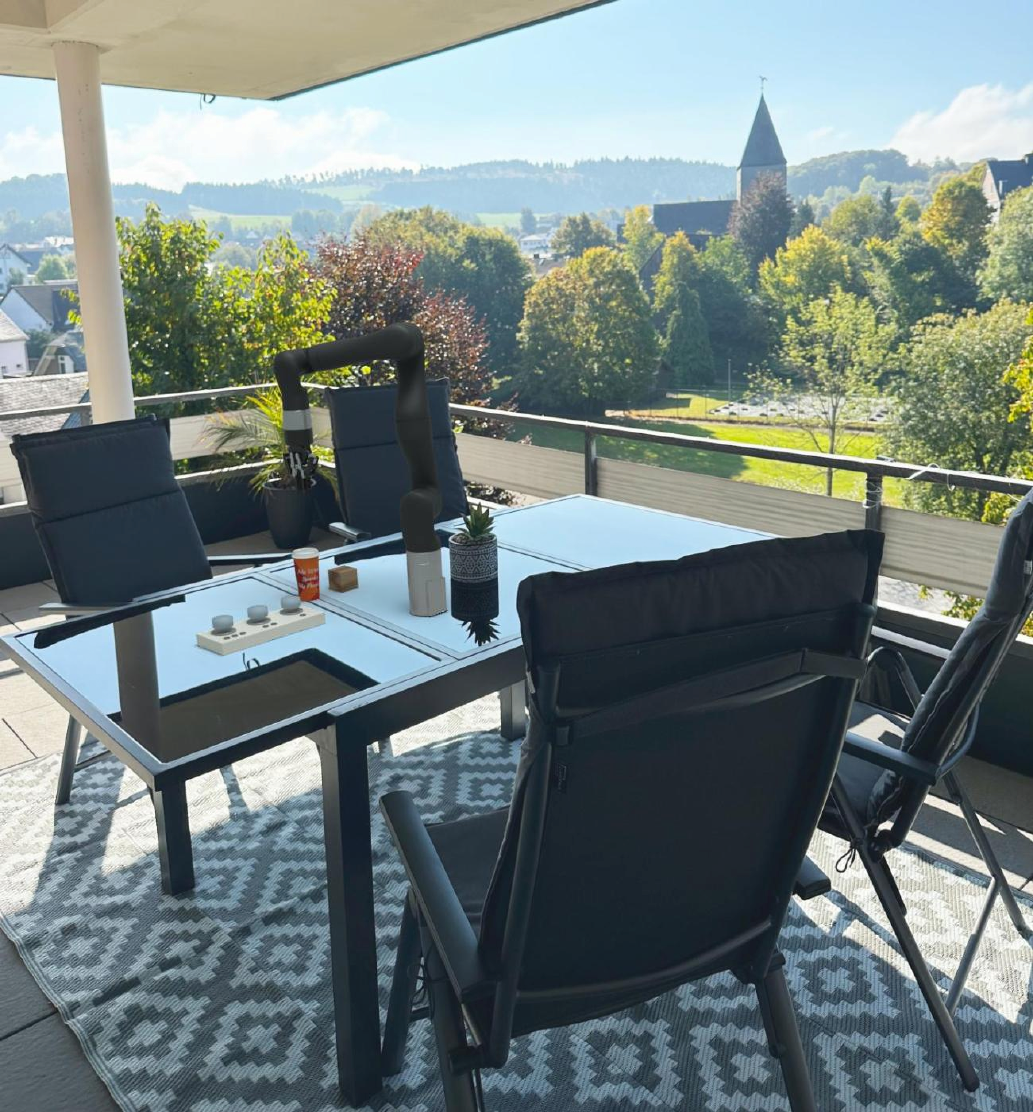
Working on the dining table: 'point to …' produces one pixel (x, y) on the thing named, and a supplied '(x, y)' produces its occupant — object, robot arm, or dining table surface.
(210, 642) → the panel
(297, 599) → the one-dot button
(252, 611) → the two-dot button
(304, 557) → the paper cup
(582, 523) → the dining table surface
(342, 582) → the walnut block
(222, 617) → the three-dot button
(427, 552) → the robot arm
